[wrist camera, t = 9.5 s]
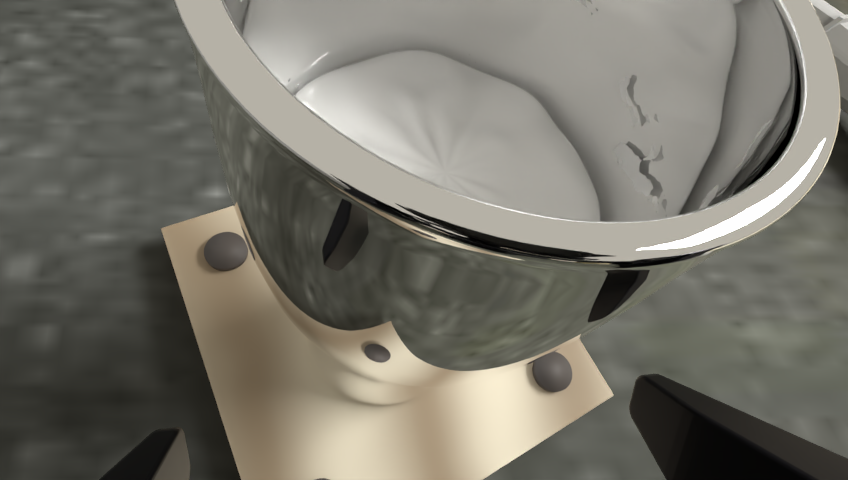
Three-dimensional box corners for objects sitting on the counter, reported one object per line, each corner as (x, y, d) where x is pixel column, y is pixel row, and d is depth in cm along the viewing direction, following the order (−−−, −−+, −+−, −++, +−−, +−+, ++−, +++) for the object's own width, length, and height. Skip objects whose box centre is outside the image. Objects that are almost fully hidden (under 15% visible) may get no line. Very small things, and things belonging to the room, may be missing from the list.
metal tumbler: (428, 228, 20) (619, -219, 6) (495, 375, 18) (1004, 156, 4) (273, 275, 18) (76, -255, 4) (326, 450, 15) (258, 498, 2)
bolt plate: (286, 595, 14) (280, 611, 13) (170, 240, 19) (158, 225, 17) (598, 397, 19) (618, 394, 18) (449, 150, 23) (456, 133, 22)
